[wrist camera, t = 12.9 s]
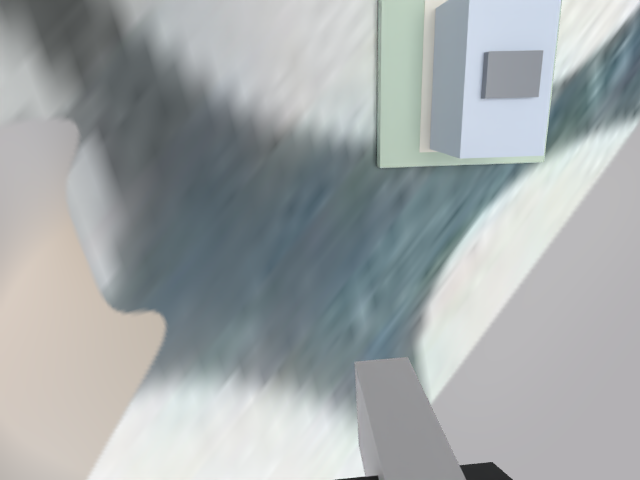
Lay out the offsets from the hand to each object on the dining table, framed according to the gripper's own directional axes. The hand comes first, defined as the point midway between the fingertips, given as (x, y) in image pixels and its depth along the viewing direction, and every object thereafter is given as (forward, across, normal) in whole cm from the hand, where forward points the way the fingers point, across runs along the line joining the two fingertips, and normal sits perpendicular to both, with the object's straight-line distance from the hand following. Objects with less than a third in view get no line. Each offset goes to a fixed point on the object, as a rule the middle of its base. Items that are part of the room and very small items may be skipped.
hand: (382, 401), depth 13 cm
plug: (+21, +10, +9) cm, 25 cm away
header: (+22, +10, +10) cm, 26 cm away
